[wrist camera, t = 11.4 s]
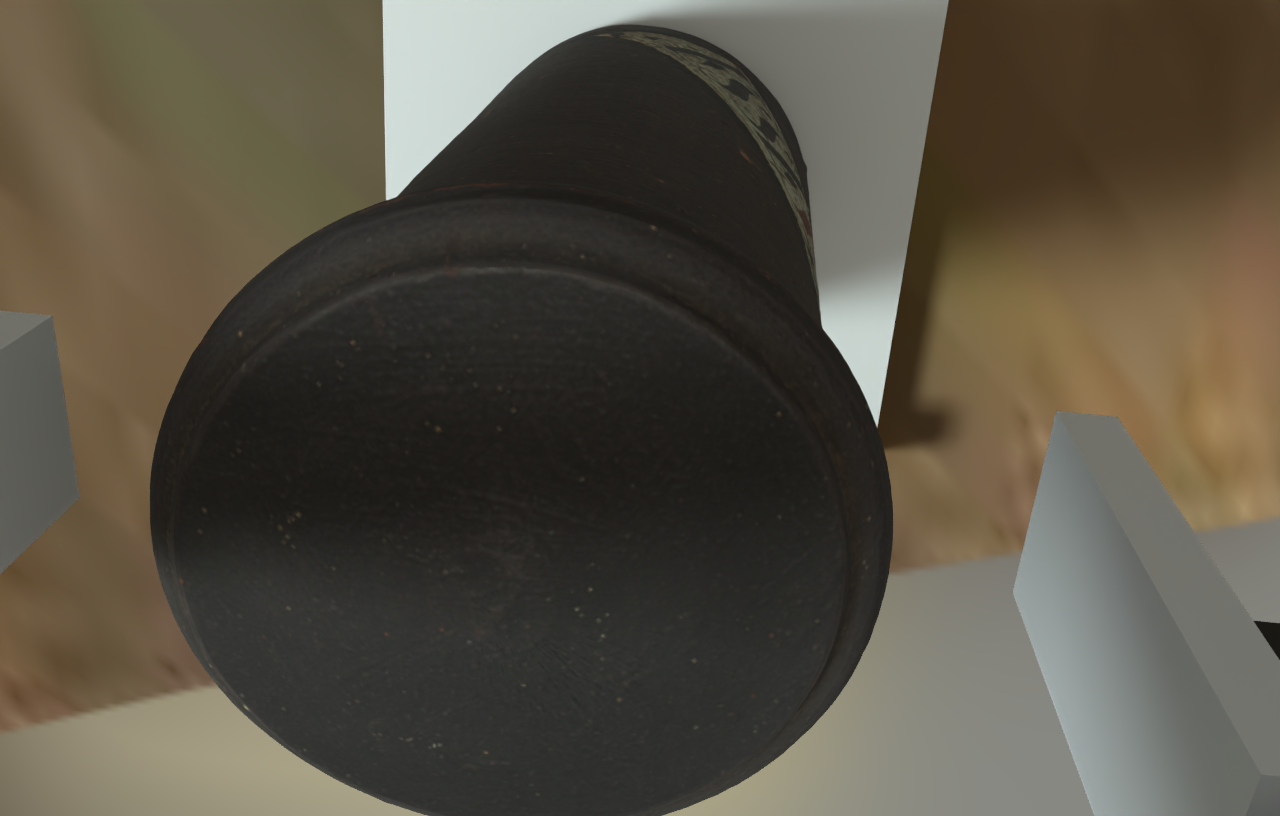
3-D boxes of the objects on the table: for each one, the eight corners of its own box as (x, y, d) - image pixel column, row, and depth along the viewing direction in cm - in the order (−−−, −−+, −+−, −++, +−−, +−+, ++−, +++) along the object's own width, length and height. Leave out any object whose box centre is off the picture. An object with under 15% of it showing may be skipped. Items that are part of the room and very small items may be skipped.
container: (799, 347, 33) (863, 926, 15) (477, 329, 33) (151, 863, 15) (828, 18, 29) (960, 239, 11) (468, 5, 30) (30, 192, 12)
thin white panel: (400, -350, 29) (352, -382, 25) (985, -310, 28) (1019, -337, 25) (408, 411, 37) (372, 466, 33) (861, 456, 36) (873, 517, 33)
